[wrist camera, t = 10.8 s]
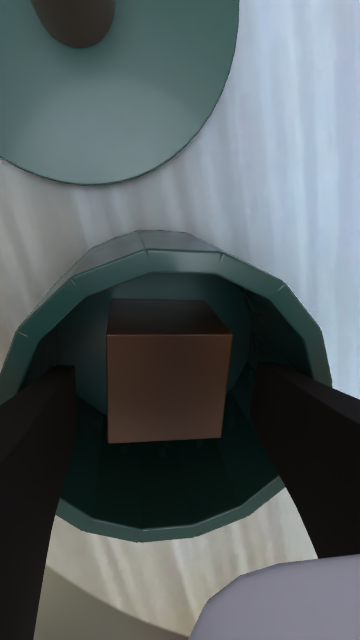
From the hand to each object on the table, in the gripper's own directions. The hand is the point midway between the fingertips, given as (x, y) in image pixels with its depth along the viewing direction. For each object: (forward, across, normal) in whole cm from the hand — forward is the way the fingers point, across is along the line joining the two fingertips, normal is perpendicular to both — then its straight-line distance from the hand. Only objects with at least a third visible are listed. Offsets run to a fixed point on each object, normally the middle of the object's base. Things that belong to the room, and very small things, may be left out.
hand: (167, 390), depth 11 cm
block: (+4, 0, 0) cm, 4 cm away
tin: (+4, 0, 0) cm, 5 cm away
